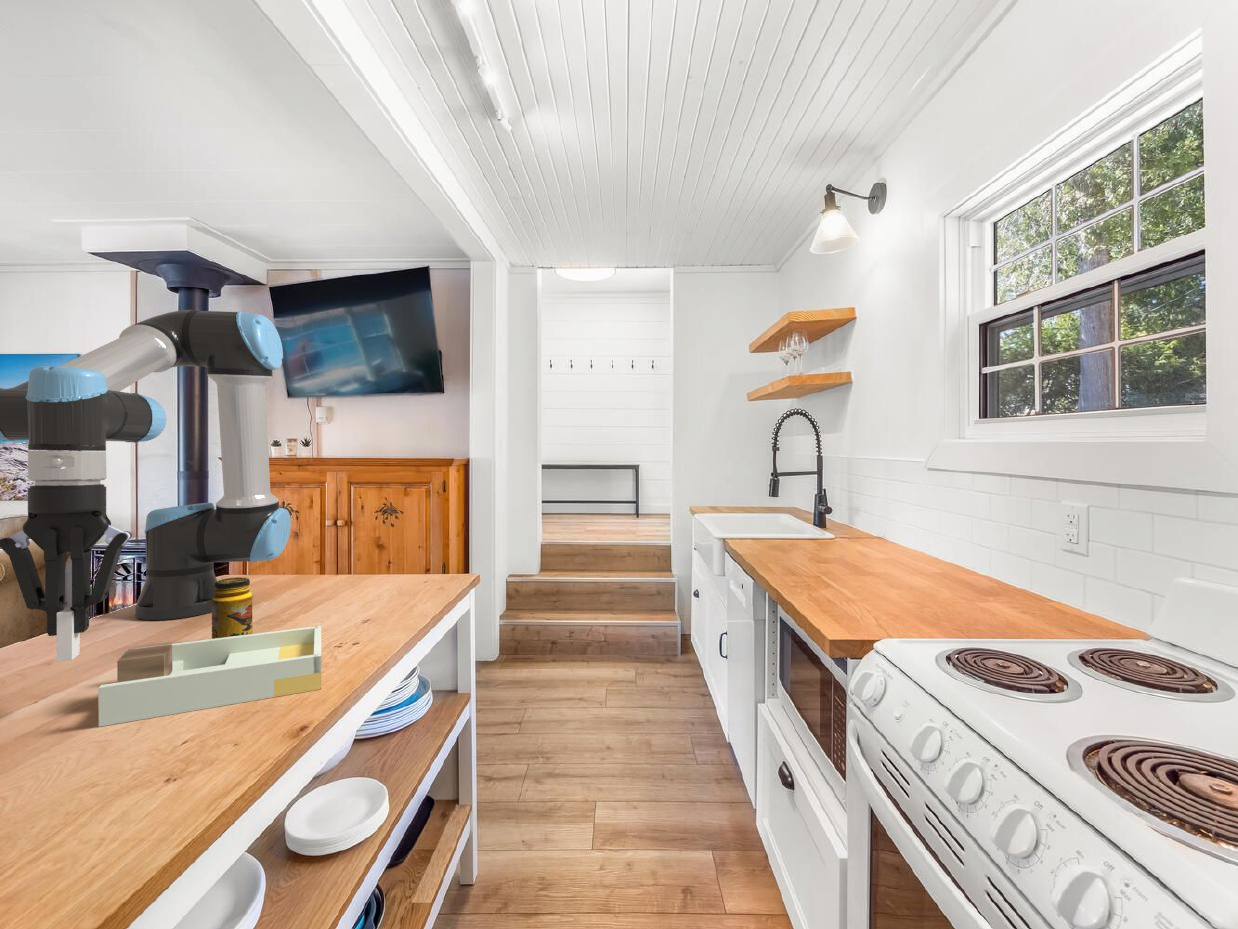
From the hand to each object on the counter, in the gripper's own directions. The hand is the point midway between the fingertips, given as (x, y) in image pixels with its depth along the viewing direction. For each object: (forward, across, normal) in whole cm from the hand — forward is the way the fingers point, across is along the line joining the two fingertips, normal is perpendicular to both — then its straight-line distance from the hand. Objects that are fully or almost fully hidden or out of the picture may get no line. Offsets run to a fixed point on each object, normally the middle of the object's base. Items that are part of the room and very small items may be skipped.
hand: (68, 657), depth 75 cm
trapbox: (+7, +18, 0) cm, 19 cm away
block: (+5, +8, 0) cm, 9 cm away
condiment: (+7, +15, +20) cm, 26 cm away
